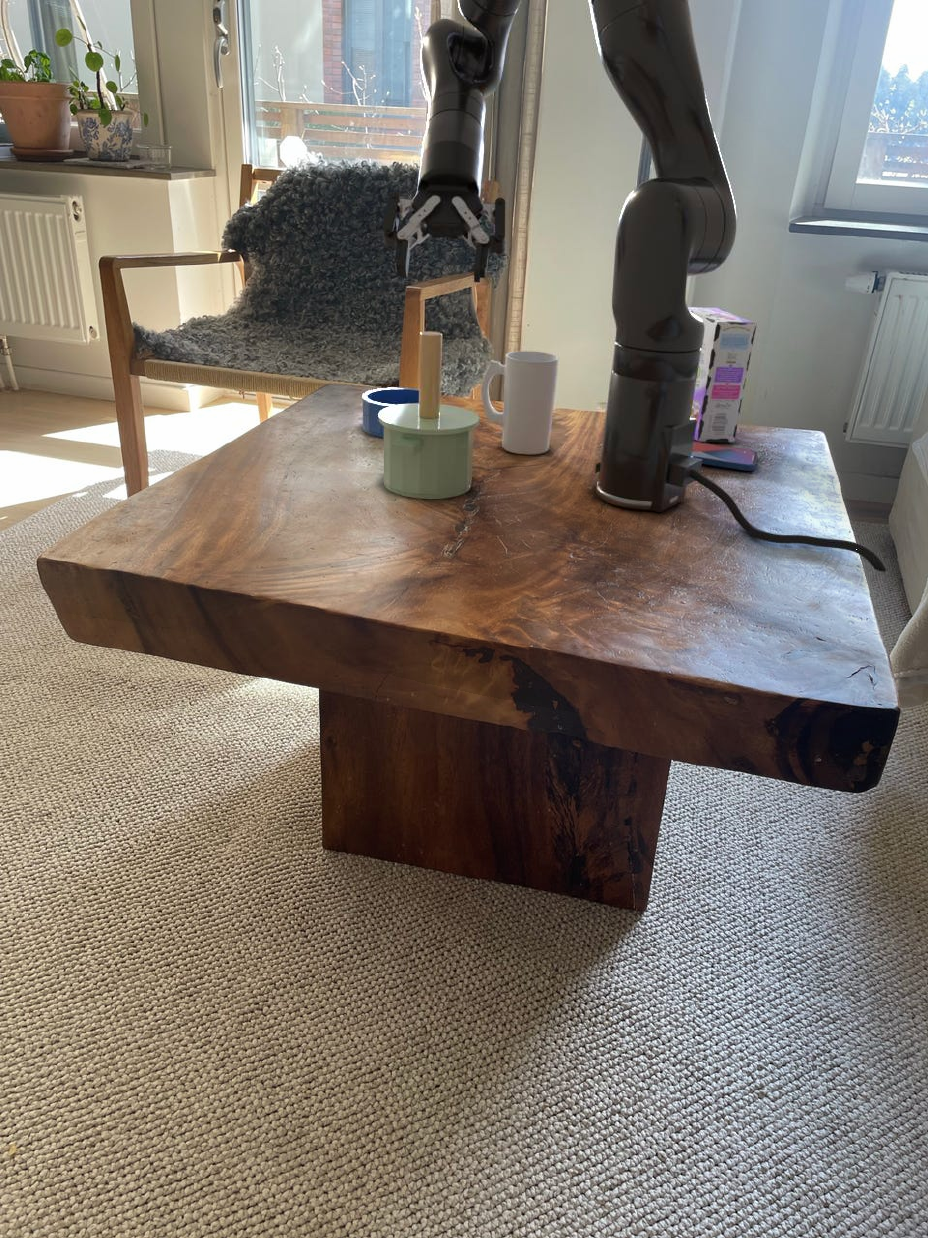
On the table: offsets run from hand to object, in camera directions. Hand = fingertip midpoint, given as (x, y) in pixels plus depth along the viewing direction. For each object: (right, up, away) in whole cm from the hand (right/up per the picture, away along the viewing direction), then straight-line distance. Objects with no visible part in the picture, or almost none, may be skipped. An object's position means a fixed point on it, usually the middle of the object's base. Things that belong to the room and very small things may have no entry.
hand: (440, 275), depth 102 cm
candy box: (+37, -12, +29) cm, 48 cm away
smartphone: (+34, -18, +16) cm, 41 cm away
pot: (-2, -24, +2) cm, 24 cm away
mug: (+9, -16, +17) cm, 26 cm away
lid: (-1, -17, -2) cm, 17 cm away
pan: (-6, -13, +22) cm, 26 cm away
